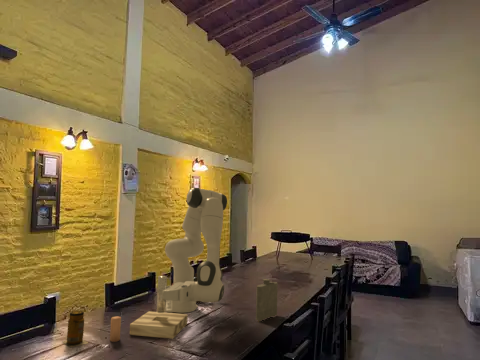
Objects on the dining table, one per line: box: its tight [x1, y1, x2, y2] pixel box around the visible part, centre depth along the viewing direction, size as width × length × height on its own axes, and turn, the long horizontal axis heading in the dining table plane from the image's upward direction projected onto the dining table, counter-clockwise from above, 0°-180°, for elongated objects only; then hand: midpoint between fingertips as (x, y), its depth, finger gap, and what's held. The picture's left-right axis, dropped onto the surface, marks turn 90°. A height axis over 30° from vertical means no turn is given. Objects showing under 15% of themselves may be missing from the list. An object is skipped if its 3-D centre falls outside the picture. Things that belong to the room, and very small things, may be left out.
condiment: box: [61, 310, 89, 348], centre depth 145 cm, size 7×8×12 cm
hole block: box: [129, 310, 189, 339], centre depth 164 cm, size 20×20×4 cm
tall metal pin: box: [156, 275, 168, 313], centre depth 165 cm, size 4×4×16 cm
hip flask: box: [255, 278, 279, 321], centre depth 185 cm, size 16×4×20 cm, turn 138°
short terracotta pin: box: [109, 316, 122, 343], centre depth 149 cm, size 4×4×9 cm
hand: (160, 289), depth 165 cm, fingers closed on tall metal pin, 4 cm apart
